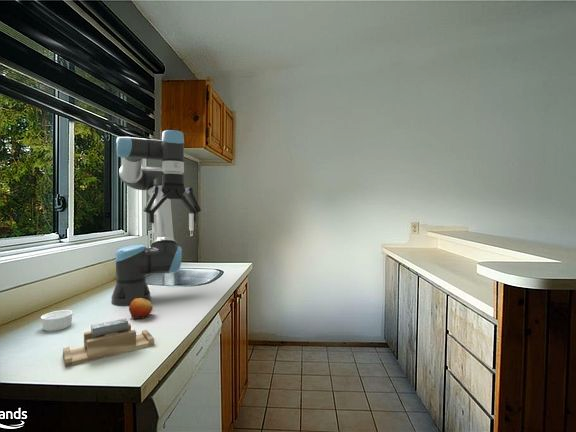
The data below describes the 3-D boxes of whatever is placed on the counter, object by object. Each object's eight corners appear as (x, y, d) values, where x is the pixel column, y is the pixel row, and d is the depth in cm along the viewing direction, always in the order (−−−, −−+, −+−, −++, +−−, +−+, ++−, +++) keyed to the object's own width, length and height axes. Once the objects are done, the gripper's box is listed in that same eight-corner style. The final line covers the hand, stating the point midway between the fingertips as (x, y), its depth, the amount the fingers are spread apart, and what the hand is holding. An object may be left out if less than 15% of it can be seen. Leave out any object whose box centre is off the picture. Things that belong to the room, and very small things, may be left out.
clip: (91, 348, 92) (90, 325, 92) (126, 340, 98) (125, 318, 97) (92, 352, 90) (92, 328, 90) (128, 343, 95) (128, 321, 95)
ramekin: (52, 333, 105) (52, 320, 105) (34, 329, 108) (34, 316, 108) (79, 324, 113) (78, 311, 113) (61, 320, 116) (61, 308, 116)
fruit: (124, 311, 122) (136, 292, 123) (143, 320, 125) (155, 301, 126) (122, 318, 114) (135, 298, 116) (143, 327, 117) (155, 307, 119)
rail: (62, 355, 90) (62, 336, 90) (146, 335, 104) (146, 319, 104) (65, 367, 84) (64, 347, 84) (154, 344, 97) (154, 327, 97)
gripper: (139, 170, 109) (140, 233, 110) (209, 175, 124) (209, 230, 125) (134, 172, 115) (134, 232, 116) (201, 176, 130) (201, 229, 131)
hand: (173, 231), depth 121 cm, fingers open, 13 cm apart
